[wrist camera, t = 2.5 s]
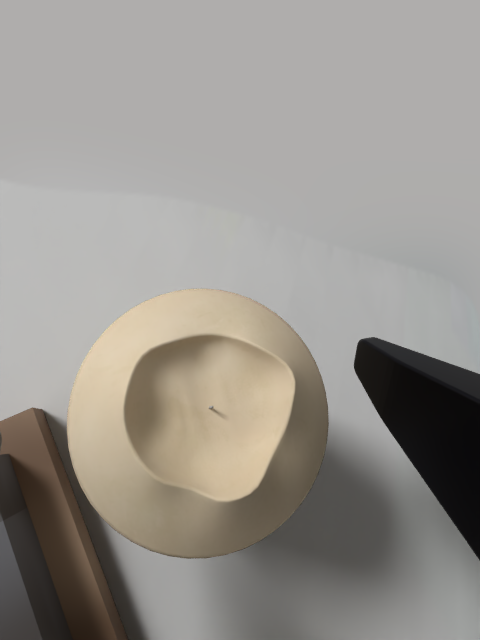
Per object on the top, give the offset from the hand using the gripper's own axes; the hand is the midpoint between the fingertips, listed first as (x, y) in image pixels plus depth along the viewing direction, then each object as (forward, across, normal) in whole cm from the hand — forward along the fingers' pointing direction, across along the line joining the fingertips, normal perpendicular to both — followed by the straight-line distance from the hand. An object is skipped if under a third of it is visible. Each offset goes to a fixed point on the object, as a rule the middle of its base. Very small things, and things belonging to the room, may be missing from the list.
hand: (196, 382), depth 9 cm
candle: (+5, 0, +6) cm, 8 cm away
